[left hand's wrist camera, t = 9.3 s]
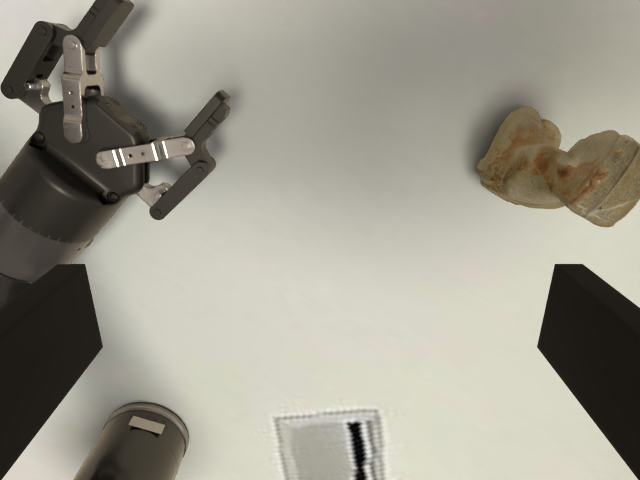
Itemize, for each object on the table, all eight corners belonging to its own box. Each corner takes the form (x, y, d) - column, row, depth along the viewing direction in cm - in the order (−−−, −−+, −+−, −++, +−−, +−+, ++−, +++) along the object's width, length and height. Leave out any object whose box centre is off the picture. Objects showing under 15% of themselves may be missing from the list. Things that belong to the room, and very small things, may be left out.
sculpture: (561, 133, 38) (697, 173, 24) (505, 200, 41) (601, 272, 27) (510, 95, 37) (622, 114, 23) (455, 166, 40) (528, 223, 26)
